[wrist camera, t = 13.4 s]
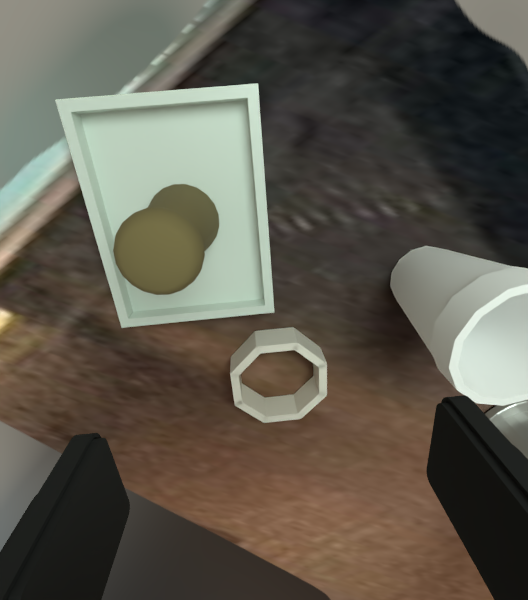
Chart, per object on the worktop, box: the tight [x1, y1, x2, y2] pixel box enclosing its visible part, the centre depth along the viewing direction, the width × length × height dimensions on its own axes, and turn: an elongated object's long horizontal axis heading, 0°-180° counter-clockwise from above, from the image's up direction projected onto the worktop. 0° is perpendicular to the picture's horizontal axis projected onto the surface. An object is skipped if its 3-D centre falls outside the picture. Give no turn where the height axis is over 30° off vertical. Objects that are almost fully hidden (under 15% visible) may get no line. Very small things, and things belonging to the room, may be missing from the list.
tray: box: [55, 84, 274, 328], centre depth 28 cm, size 18×14×2 cm
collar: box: [230, 327, 327, 423], centre depth 35 cm, size 10×10×3 cm
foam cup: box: [390, 246, 528, 406], centre depth 27 cm, size 10×9×13 cm
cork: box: [113, 184, 219, 295], centre depth 23 cm, size 6×6×11 cm
